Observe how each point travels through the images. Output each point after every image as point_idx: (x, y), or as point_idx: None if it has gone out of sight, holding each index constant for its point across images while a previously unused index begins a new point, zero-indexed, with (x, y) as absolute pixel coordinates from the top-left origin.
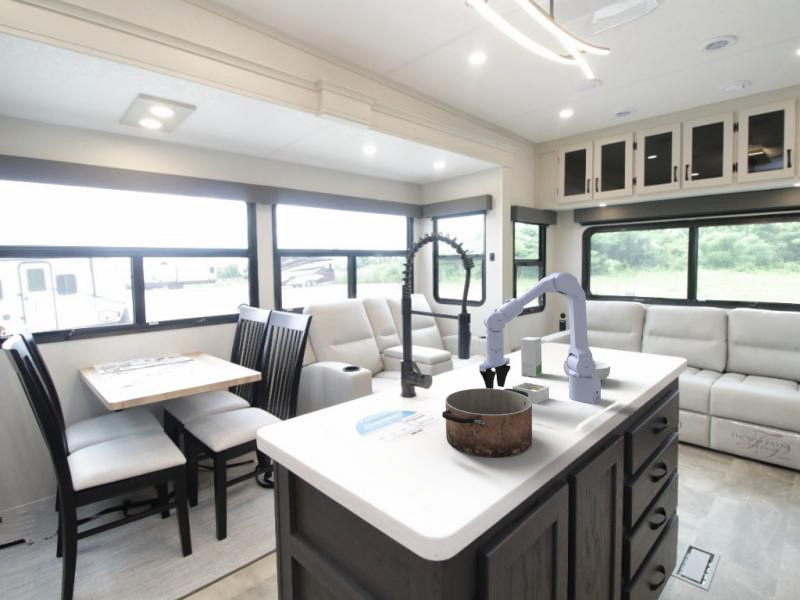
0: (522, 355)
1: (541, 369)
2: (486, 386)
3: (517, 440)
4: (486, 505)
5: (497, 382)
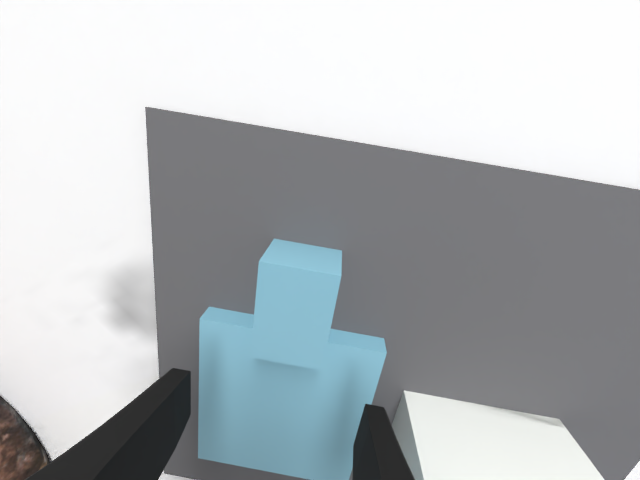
0: None
1: None
2: (141, 403)
3: None
4: None
5: (369, 437)
